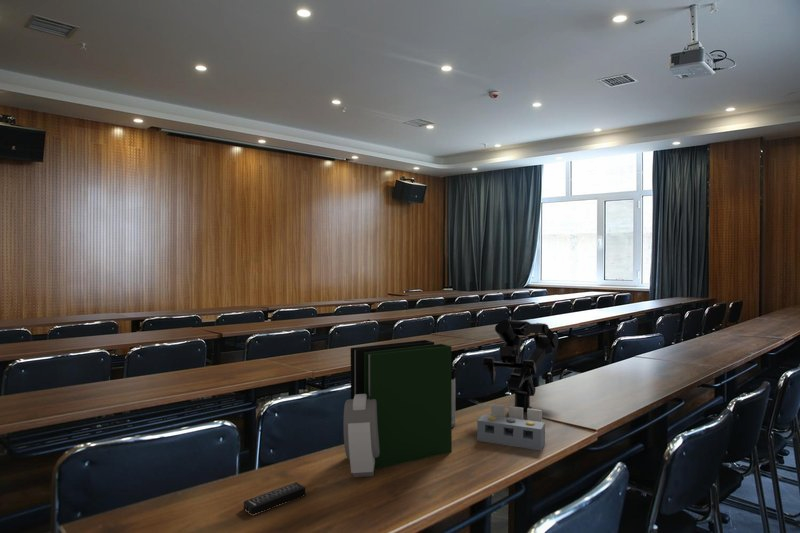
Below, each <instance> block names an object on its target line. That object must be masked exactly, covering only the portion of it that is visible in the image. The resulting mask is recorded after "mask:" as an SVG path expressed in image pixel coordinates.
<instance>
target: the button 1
mask: <svg viewBox="0 0 800 533" xmlns="http://www.w3.org/2000/svg"><path fill="white" fill-rule="evenodd" d="M490 406H491V407H490V408H491V411H490V412H491V414H490V415H492V416H500V417H506V405H502V404H495V403H491V405H490ZM490 427H491V428H494V426H491V425H490Z"/></svg>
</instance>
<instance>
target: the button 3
mask: <svg viewBox="0 0 800 533" xmlns="http://www.w3.org/2000/svg"><path fill="white" fill-rule="evenodd" d="M526 414H527V415H526V418H527V419H526V420H530V421H537V422H543V411H542V409H536V408H532V409H529V408H528V409H527V412H526ZM528 433H530V434H532V433H533V431H528Z"/></svg>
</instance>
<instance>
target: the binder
mask: <svg viewBox="0 0 800 533" xmlns="http://www.w3.org/2000/svg"><path fill="white" fill-rule="evenodd" d="M451 368H452V345H447V344H445V343H444V344H443V343H437V344H435V342H434V341H431V340H427V339H424V340H423V339H422V340H421V339H420V340H414V341H413V340H411V341H404V342H403V341H401V342H395V343H394V342H393V343H384V344H376V345H367V346H366V345H364V346H355V347H350V399H354V396H355V394H367V398H370V400H371V399H376V403H377V423H378V436H379V448H380V454H379V457H375V464H374V471H375V470H380V469H383V468H388V467H392V466H396V465H397V466H398V465H401V464H405V462H406V463H411V462H414V461H418V460H422V459H427V458H431V457H436V456H439V455H444V454H448V453H452V451H453V450H452V449H453V448H452V444H453V443H452V441H453V440H452V435H453V434H452V433H453V432H452V428H453V427H452V383H451Z"/></svg>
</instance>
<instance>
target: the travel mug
mask: <svg viewBox="0 0 800 533" xmlns="http://www.w3.org/2000/svg"><path fill="white" fill-rule="evenodd" d="M456 372H457V368H456V367H455V368H453V367H451V383H452V428H454V427H455V426H456Z"/></svg>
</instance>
